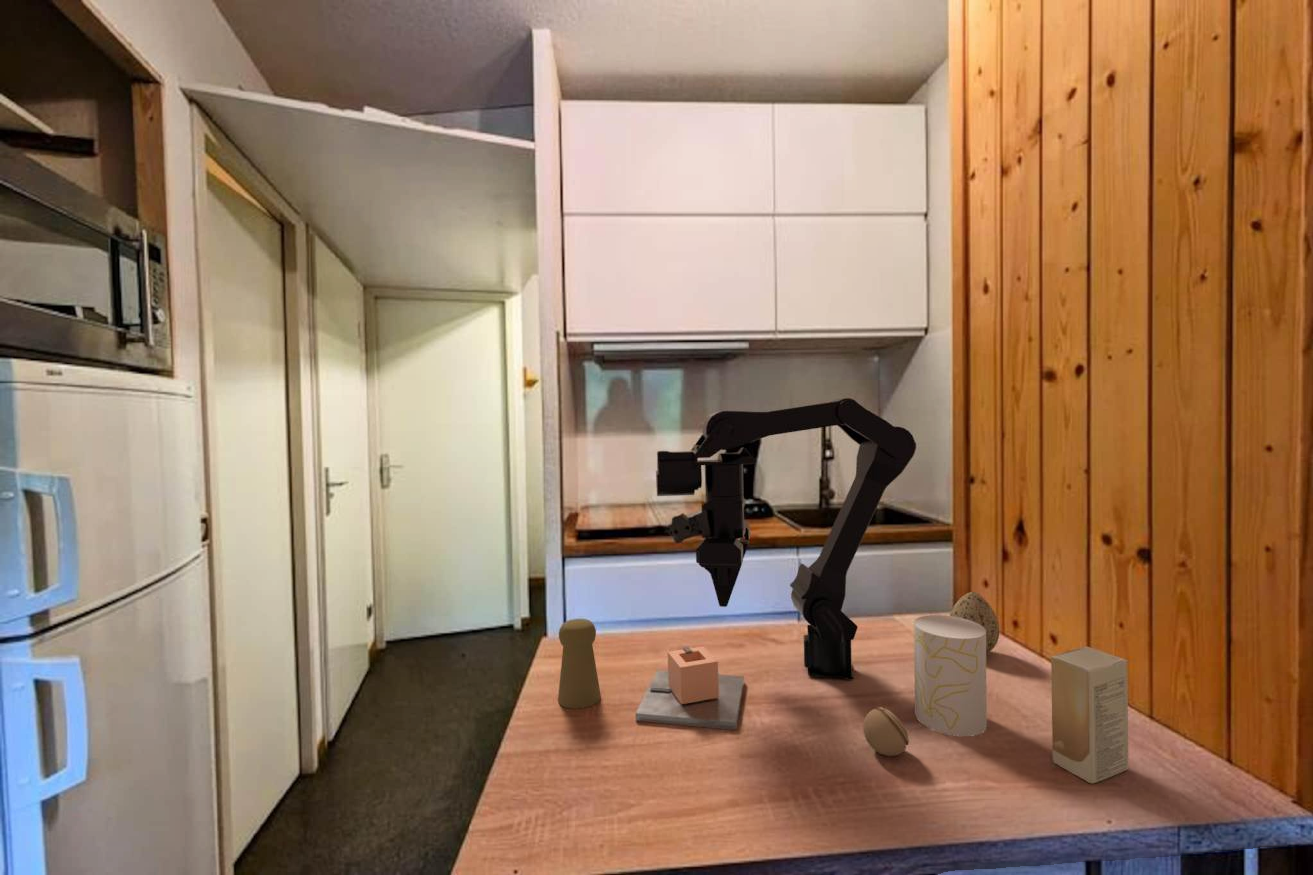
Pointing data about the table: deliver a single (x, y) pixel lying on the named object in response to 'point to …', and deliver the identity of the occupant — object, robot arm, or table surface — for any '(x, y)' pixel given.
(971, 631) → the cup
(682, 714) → the grey square base plate
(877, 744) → the beige rounded piece
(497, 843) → the table surface
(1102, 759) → the skincare box
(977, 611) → the decorative egg
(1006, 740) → the table surface
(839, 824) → the table surface
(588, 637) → the cork
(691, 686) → the hollow block with latch
